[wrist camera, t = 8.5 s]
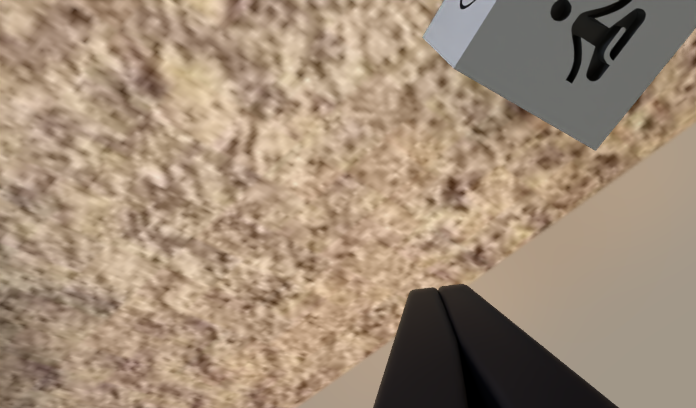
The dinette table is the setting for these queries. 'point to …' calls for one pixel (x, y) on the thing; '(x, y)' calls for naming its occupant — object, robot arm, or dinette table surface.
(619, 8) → the dice cube
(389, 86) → the dinette table surface
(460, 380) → the robot arm
